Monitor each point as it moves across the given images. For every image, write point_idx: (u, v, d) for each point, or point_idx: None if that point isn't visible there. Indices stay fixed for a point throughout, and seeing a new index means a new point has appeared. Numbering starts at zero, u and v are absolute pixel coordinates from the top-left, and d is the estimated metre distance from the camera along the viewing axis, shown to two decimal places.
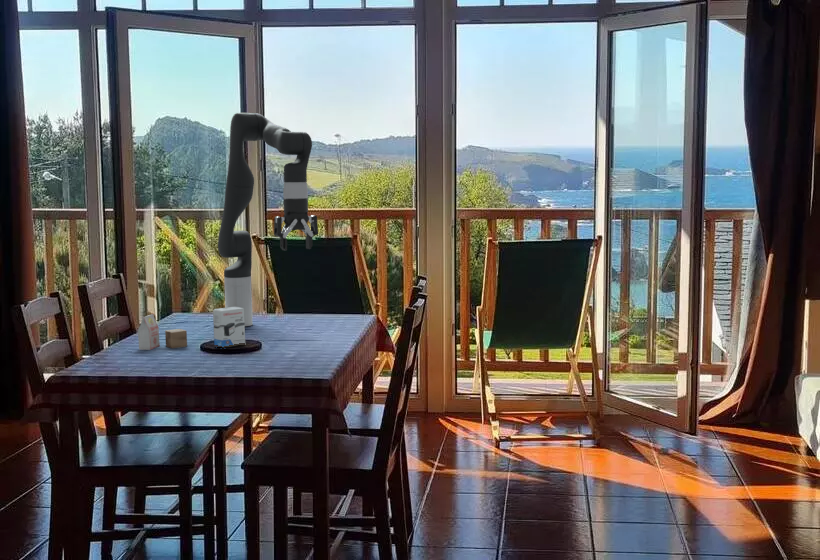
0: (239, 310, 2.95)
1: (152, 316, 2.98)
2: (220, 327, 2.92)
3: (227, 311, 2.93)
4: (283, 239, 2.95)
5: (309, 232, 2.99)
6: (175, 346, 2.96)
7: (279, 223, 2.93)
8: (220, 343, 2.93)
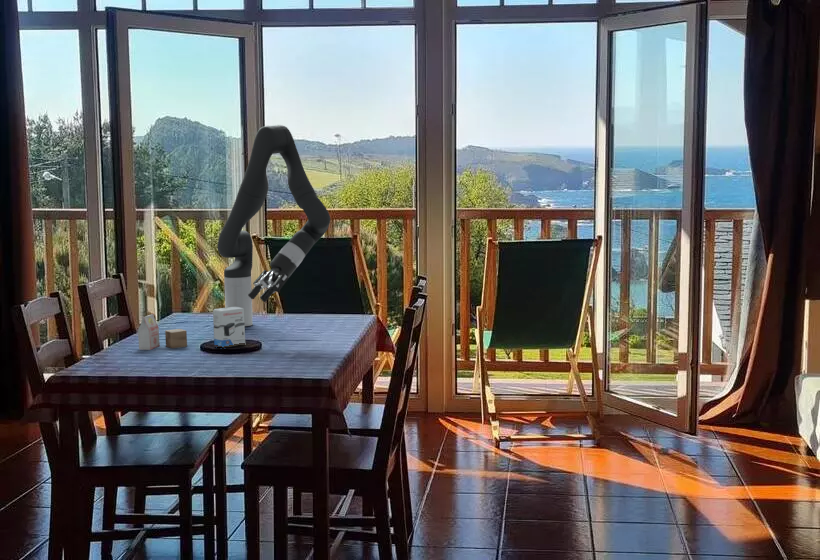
0: (239, 310, 2.95)
1: (152, 316, 2.98)
2: (220, 327, 2.92)
3: (227, 311, 2.93)
4: None
5: None
6: (175, 346, 2.96)
7: None
8: (220, 343, 2.93)
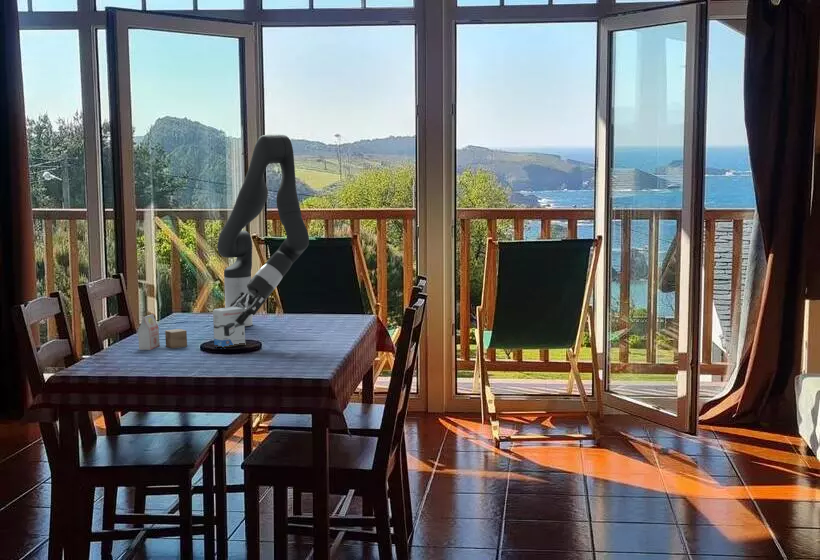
0: (239, 310, 2.95)
1: (152, 316, 2.98)
2: (220, 327, 2.92)
3: (227, 311, 2.93)
4: None
5: None
6: (175, 346, 2.96)
7: None
8: (220, 343, 2.93)
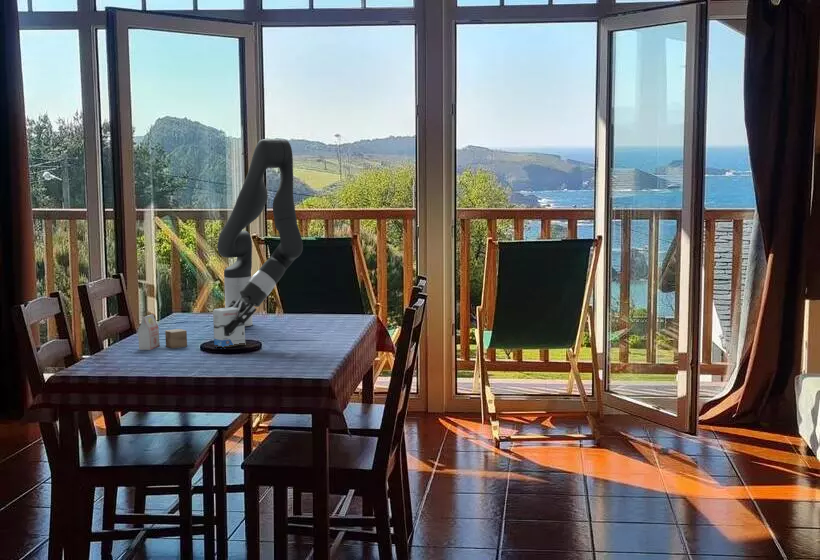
0: None
1: (152, 316, 2.98)
2: (220, 327, 2.92)
3: (227, 311, 2.93)
4: None
5: None
6: (175, 346, 2.96)
7: None
8: (220, 343, 2.93)
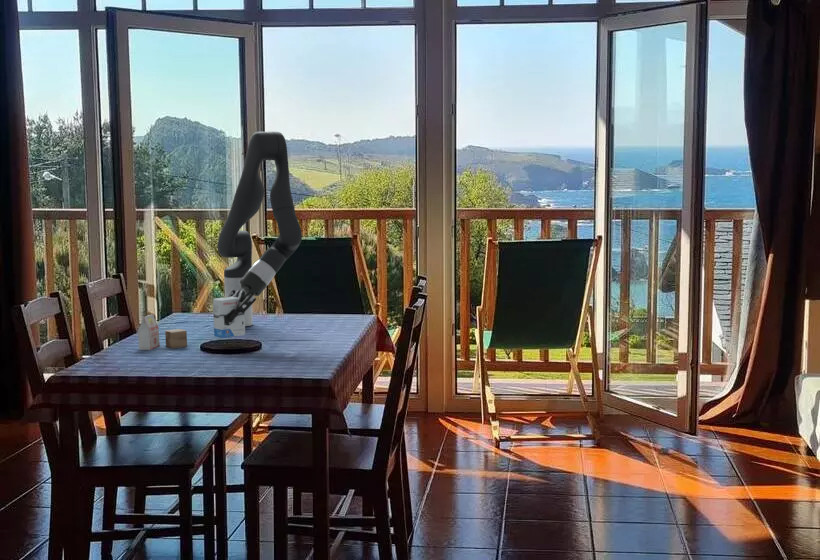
0: None
1: (152, 316, 2.98)
2: (220, 316, 2.92)
3: (227, 300, 2.93)
4: None
5: None
6: (175, 346, 2.96)
7: None
8: (220, 332, 2.93)
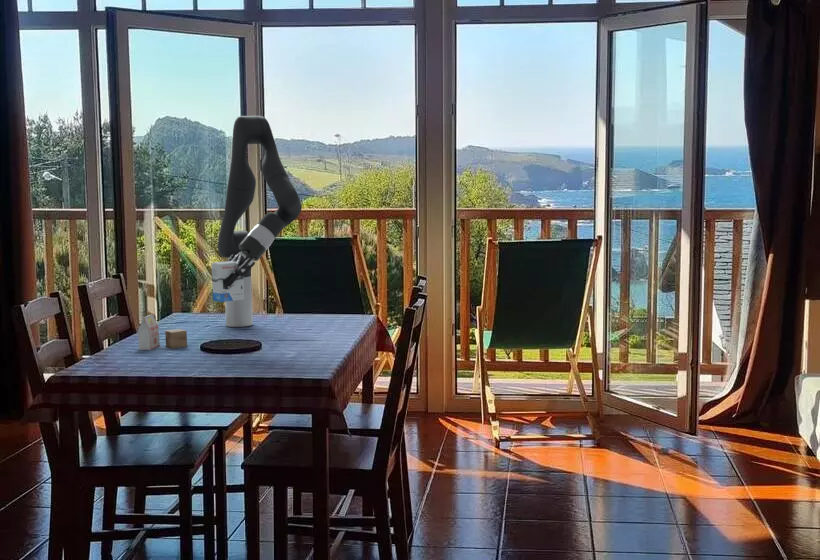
0: None
1: (152, 316, 2.98)
2: (218, 280, 2.91)
3: (226, 264, 2.91)
4: None
5: None
6: (175, 346, 2.96)
7: None
8: (219, 296, 2.91)
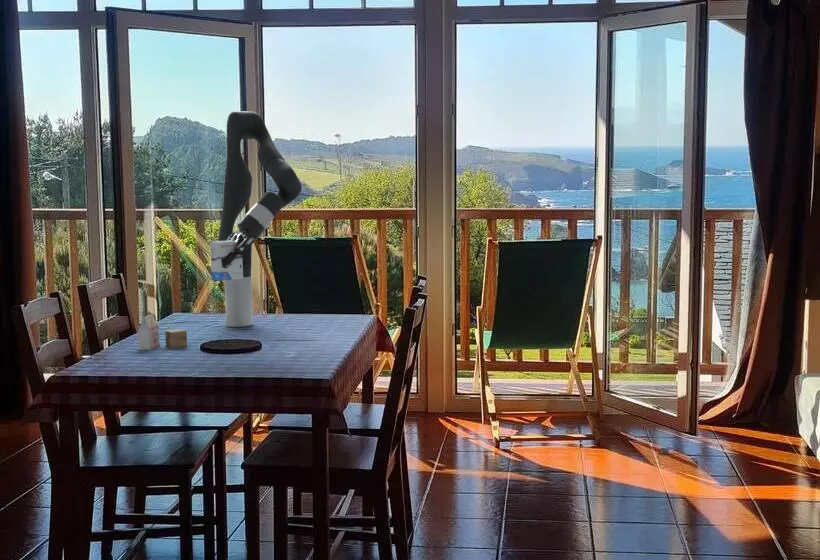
0: None
1: (152, 316, 2.98)
2: (217, 259, 2.90)
3: (224, 243, 2.91)
4: None
5: None
6: (175, 346, 2.96)
7: None
8: (217, 275, 2.91)
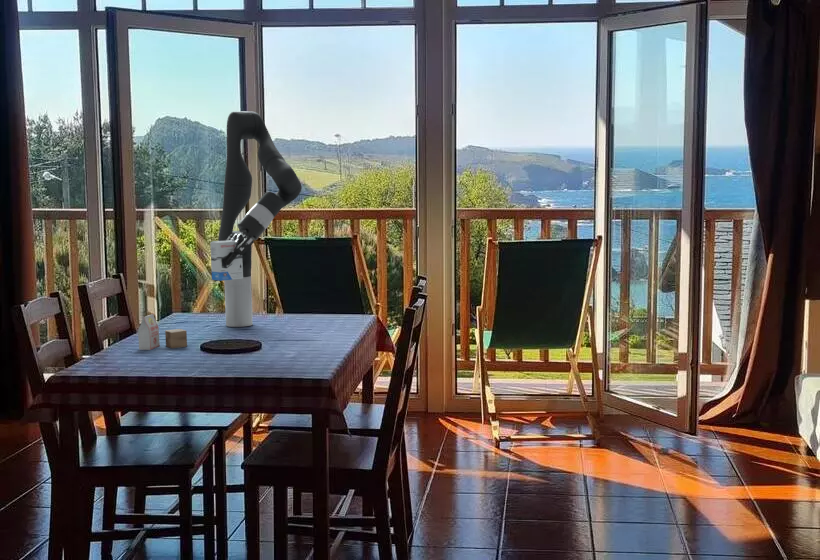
0: None
1: (152, 316, 2.98)
2: (217, 259, 2.90)
3: (224, 243, 2.91)
4: None
5: None
6: (175, 346, 2.96)
7: None
8: (217, 275, 2.91)
